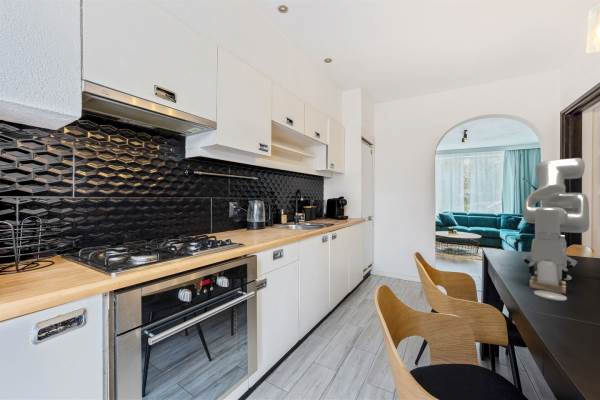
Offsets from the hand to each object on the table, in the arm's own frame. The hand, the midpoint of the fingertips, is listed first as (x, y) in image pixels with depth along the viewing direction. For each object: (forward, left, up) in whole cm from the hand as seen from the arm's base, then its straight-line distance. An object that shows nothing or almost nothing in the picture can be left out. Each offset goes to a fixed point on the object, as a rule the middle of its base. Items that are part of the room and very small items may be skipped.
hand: (547, 277), depth 106 cm
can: (0, 0, -5) cm, 5 cm away
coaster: (+13, +1, -4) cm, 14 cm away
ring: (0, 0, -4) cm, 4 cm away
